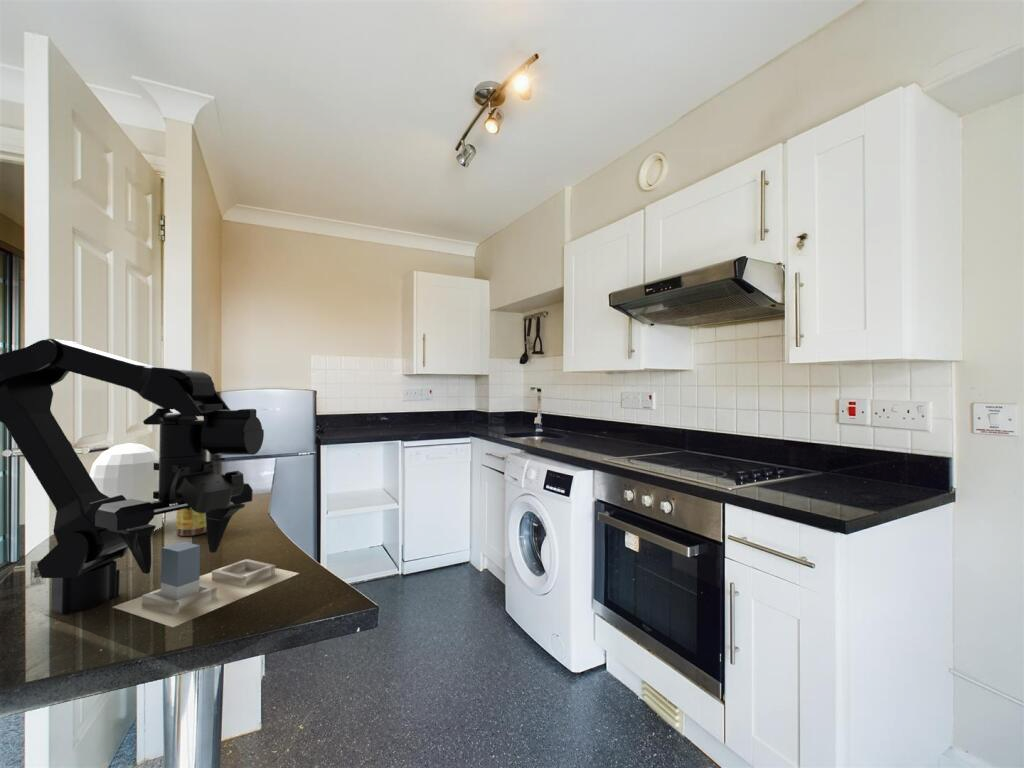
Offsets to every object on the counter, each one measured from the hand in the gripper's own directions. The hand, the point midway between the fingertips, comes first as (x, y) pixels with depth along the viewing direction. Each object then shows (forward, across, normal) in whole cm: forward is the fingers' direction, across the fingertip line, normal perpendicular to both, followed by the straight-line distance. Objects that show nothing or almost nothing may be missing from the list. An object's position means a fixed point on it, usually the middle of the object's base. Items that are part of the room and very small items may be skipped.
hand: (181, 562), depth 68 cm
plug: (+6, 0, 0) cm, 6 cm away
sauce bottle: (+7, +24, +36) cm, 44 cm away
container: (+7, +19, +52) cm, 56 cm away
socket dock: (+7, +5, 0) cm, 8 cm away
